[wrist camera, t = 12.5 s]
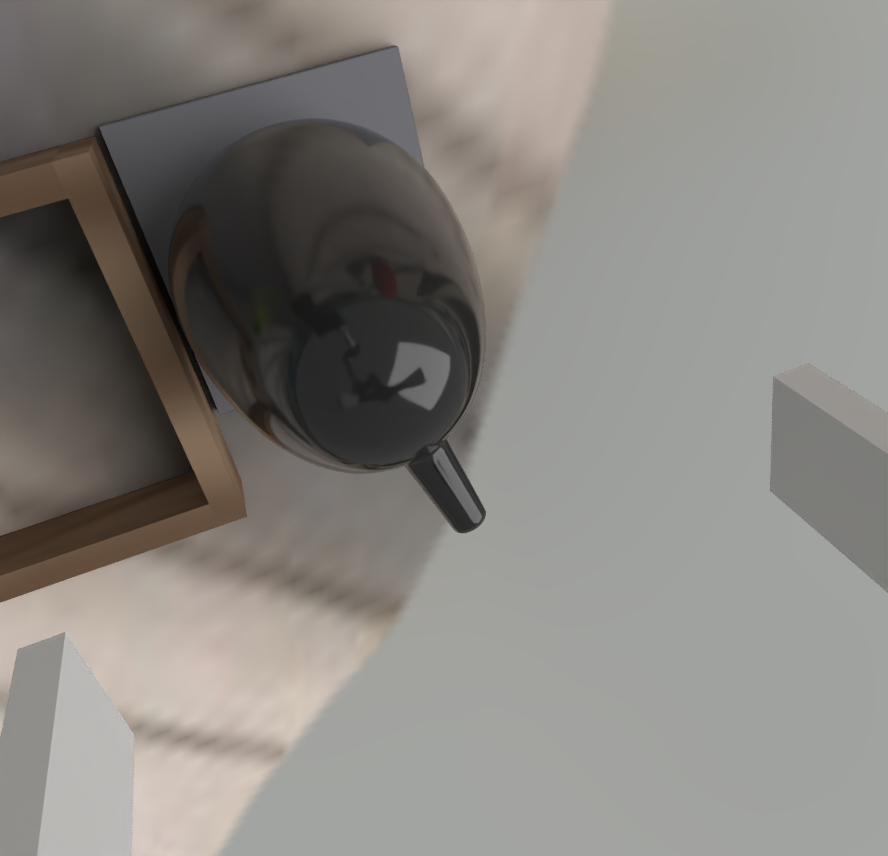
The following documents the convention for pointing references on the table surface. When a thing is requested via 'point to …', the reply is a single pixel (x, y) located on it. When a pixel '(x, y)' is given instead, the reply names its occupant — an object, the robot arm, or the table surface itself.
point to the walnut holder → (158, 341)
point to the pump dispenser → (335, 302)
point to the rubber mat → (239, 113)
